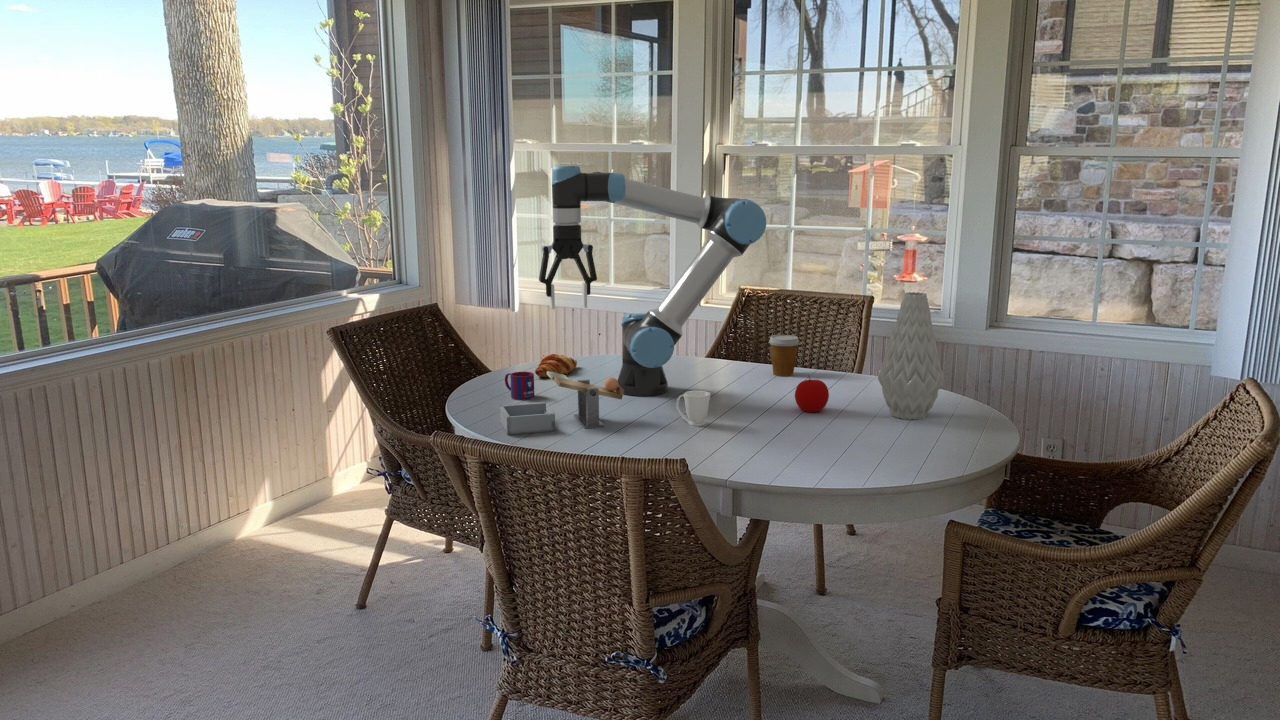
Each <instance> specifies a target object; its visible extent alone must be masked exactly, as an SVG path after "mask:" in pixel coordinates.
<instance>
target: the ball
mask: <svg viewBox="0 0 1280 720" xmlns="http://www.w3.org/2000/svg"><path fill="white" fill-rule="evenodd" d="M617 380H618V379H617V378H615V377H613V376H611V377H608V378H606V379H605V381H604V388H606V389H607V390H608V391H615V390H616V389H617V388H618V381H617Z"/></svg>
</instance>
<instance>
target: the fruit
mask: <svg viewBox="0 0 1280 720" xmlns="http://www.w3.org/2000/svg"><path fill="white" fill-rule="evenodd" d="M807 377H808V379H805V380H803V381H801V382H799V383H798V384H797V386H796V388H795V391H794V400H795V403H796V405H797V406H798V408H799V410H801V411H802V412H806V413H817V412H820V411H822V410H824V409H825V407H826V406H827V404H828V402H829V399H830V392H829V388H828V386H827V384H826V383H825V382H824V381H823V380H820V379H811V377H810V374H808V375H807Z"/></svg>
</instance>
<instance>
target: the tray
mask: <svg viewBox="0 0 1280 720" xmlns="http://www.w3.org/2000/svg"><path fill="white" fill-rule="evenodd" d="M499 421H500V425H501V426H502V428H503V430H504V431H505V433H506V434H507V436H511V435H512V436H513V435H523V434H524V435H525V434H537V433H547V432H549V433H551V432H555V431H556V413H554V412H551V413H550V412H548V411H547V403H546V402H544V401H543V402H536V403H534V402H532V403H522V404H520V403H519V404H507V405H506V404H505V405H499Z"/></svg>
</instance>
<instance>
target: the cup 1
mask: <svg viewBox="0 0 1280 720" xmlns="http://www.w3.org/2000/svg"><path fill="white" fill-rule="evenodd" d="M509 376H510V385H509V380H508V379H509ZM504 384H505V386H506V388H507V390H509V391H510V398H511V399H512V400H518V401H520V400H521V401H523V400H524V401H525V400H532V399H533V398H535V372H532V371H515V372H511V373H506V374H505V377H504Z"/></svg>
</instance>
